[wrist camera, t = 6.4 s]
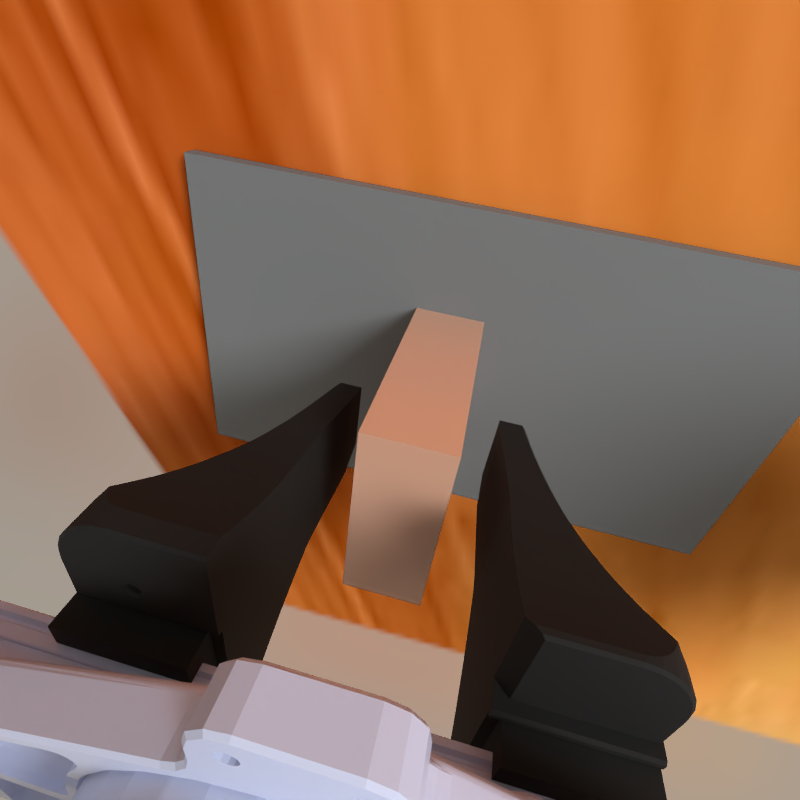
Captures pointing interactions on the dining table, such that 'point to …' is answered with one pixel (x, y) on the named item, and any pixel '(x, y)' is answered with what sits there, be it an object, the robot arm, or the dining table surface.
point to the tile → (411, 456)
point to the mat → (505, 335)
